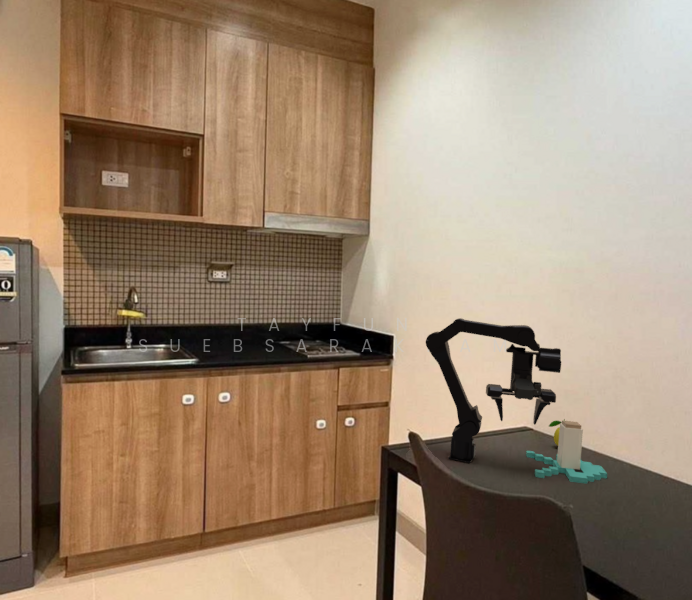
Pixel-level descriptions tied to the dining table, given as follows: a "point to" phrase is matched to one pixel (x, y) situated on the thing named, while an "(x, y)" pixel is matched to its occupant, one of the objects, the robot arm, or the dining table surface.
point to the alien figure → (574, 475)
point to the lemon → (556, 434)
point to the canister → (570, 445)
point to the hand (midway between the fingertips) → (517, 422)
